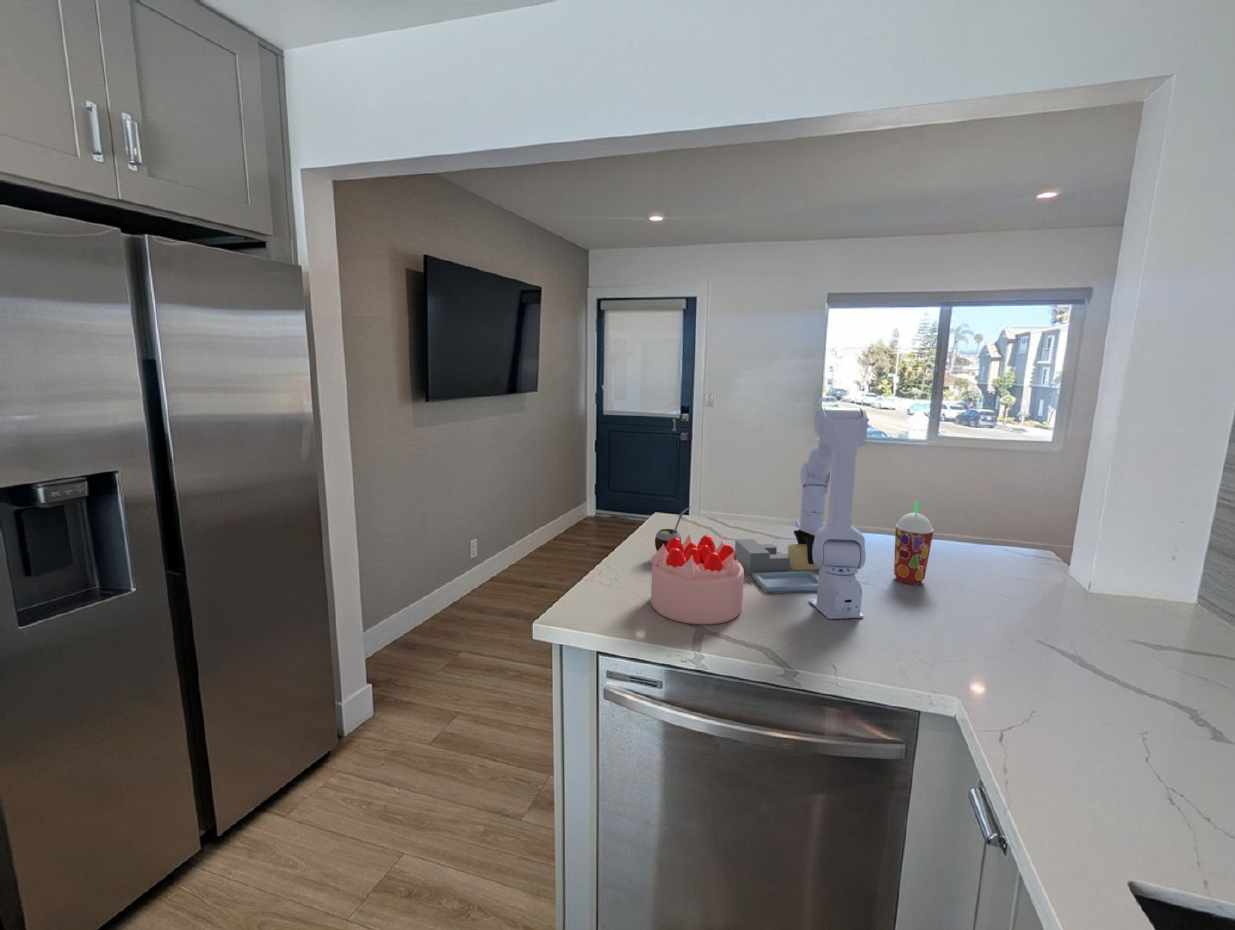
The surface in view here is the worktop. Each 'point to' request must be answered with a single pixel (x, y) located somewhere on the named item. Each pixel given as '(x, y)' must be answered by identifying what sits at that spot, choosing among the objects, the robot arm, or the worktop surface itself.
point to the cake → (697, 582)
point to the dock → (760, 557)
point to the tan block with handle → (799, 557)
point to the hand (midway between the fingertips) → (808, 560)
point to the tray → (787, 581)
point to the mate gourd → (667, 534)
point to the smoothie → (912, 547)
